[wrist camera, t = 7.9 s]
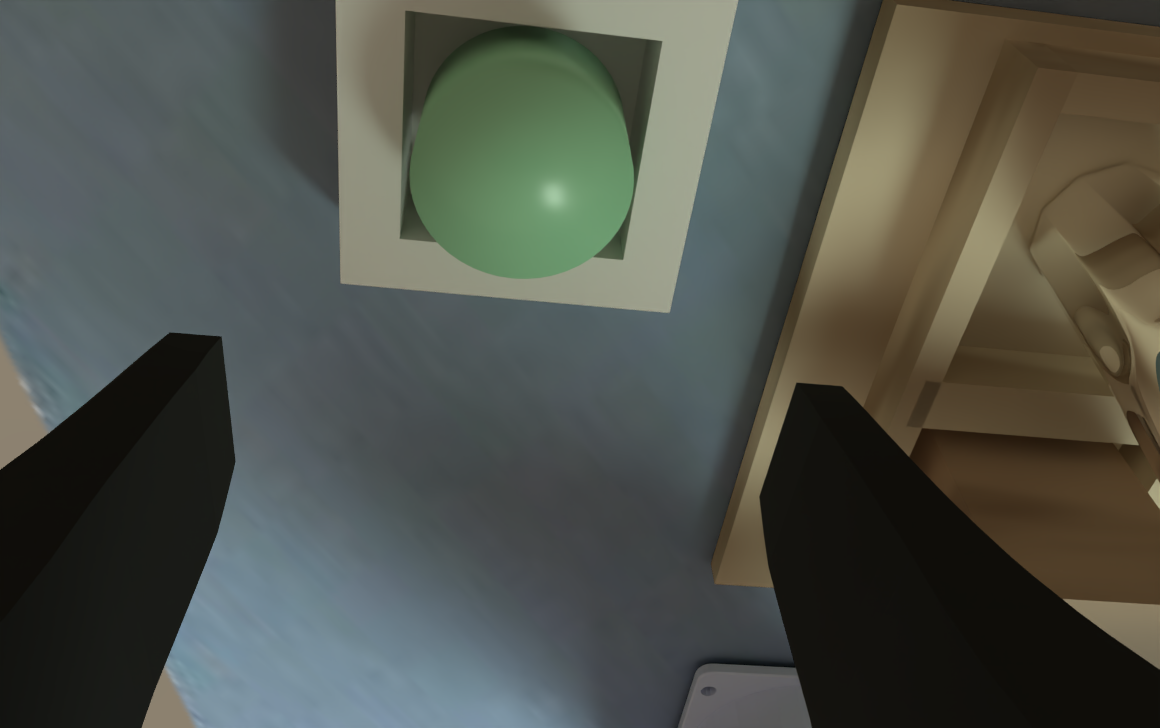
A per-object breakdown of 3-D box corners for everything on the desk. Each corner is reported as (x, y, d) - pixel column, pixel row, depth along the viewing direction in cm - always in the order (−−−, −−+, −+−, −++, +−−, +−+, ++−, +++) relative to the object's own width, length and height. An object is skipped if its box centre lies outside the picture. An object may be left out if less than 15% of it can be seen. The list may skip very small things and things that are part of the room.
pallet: (1111, 588, 31) (1149, 652, 29) (710, 563, 30) (722, 628, 28) (1464, 65, 21) (1557, 109, 19) (885, -8, 20) (922, 31, 18)
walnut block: (1027, 557, 29) (1124, 741, 24) (864, 546, 28) (930, 732, 24) (1102, 428, 26) (1230, 609, 21) (921, 413, 26) (1011, 595, 21)
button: (608, 225, 21) (615, 288, 19) (419, 206, 21) (406, 268, 19) (639, 38, 19) (651, 88, 17) (426, 13, 18) (412, 60, 16)
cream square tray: (658, 254, 23) (669, 313, 21) (358, 225, 23) (340, 283, 21) (721, -56, 19) (742, -19, 17) (356, -104, 18) (333, -71, 16)
